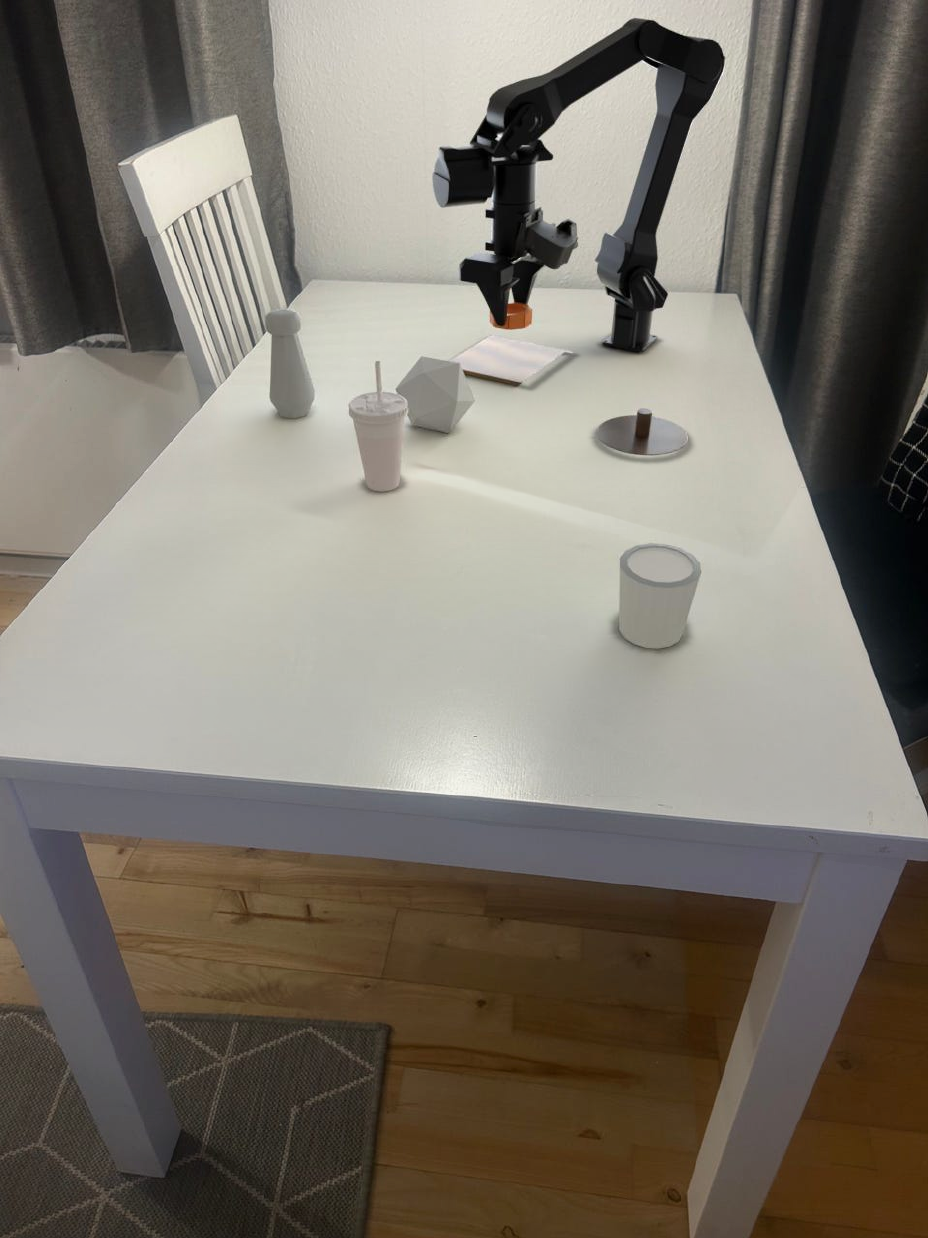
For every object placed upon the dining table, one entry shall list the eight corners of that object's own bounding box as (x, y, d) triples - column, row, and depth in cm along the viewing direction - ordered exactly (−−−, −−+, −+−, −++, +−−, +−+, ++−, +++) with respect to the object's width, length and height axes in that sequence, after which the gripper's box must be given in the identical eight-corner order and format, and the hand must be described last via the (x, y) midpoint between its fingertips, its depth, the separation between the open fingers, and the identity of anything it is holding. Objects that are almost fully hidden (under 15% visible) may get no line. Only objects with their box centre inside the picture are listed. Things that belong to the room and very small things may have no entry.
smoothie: (419, 475, 105) (415, 356, 96) (398, 501, 100) (392, 379, 91) (368, 466, 106) (359, 349, 98) (345, 492, 101) (334, 371, 93)
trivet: (490, 338, 139) (490, 334, 139) (574, 355, 134) (574, 351, 133) (442, 369, 130) (442, 364, 130) (529, 388, 124) (530, 384, 124)
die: (485, 424, 117) (458, 349, 116) (476, 417, 108) (448, 336, 107) (423, 447, 118) (397, 373, 118) (410, 443, 110) (381, 363, 109)
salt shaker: (321, 403, 121) (311, 304, 113) (311, 422, 116) (299, 320, 108) (278, 401, 121) (264, 303, 113) (266, 420, 116) (251, 318, 109)
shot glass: (604, 608, 84) (611, 543, 80) (677, 604, 84) (688, 540, 80) (621, 655, 78) (629, 589, 74) (699, 651, 79) (712, 584, 75)
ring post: (617, 414, 118) (620, 385, 115) (699, 432, 113) (704, 404, 111) (581, 447, 110) (583, 418, 108) (668, 469, 106) (672, 438, 103)
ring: (502, 313, 131) (503, 299, 130) (537, 319, 129) (538, 305, 128) (483, 325, 128) (483, 310, 126) (518, 332, 125) (519, 317, 124)
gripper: (536, 223, 109) (531, 351, 118) (600, 192, 122) (591, 309, 131) (456, 212, 114) (457, 335, 123) (526, 183, 126) (522, 297, 136)
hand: (510, 319), depth 128 cm, fingers closed on ring, 5 cm apart
